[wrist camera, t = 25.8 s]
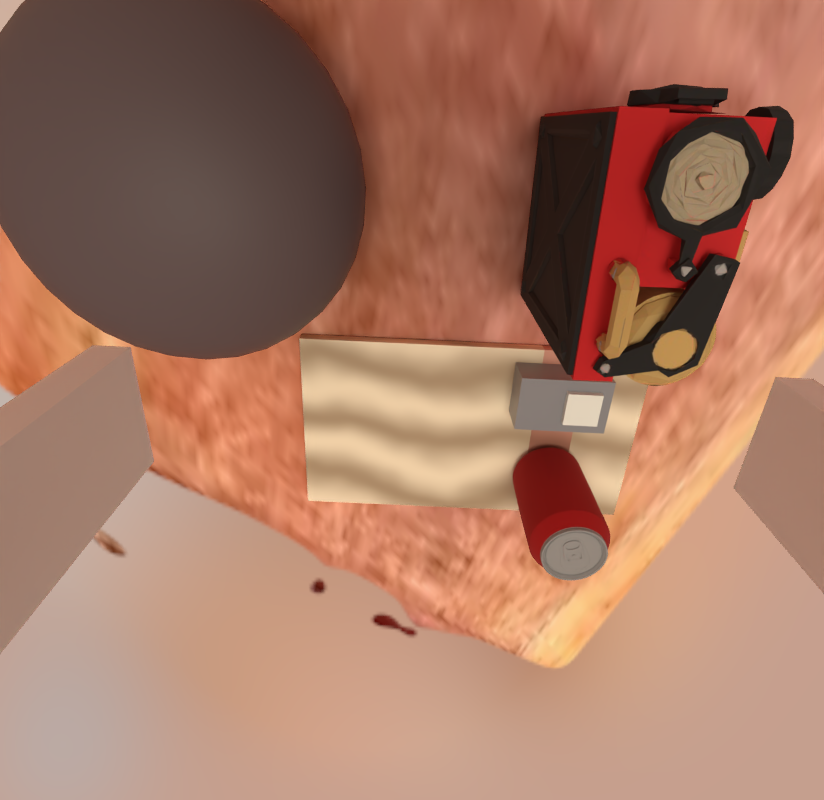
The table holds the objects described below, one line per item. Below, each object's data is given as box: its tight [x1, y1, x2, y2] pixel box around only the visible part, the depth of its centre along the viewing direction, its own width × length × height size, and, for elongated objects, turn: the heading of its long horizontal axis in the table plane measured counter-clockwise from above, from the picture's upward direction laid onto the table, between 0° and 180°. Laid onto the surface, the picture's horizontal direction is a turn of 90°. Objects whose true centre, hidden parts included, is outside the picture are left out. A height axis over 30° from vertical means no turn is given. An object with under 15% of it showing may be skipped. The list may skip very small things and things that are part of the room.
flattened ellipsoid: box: [0, 0, 366, 359], centre depth 37 cm, size 25×25×15 cm
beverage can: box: [513, 447, 610, 580], centre depth 49 cm, size 7×7×12 cm
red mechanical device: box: [521, 84, 794, 386], centre depth 35 cm, size 16×10×20 cm, turn 179°
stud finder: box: [509, 362, 616, 434], centre depth 48 cm, size 5×8×4 cm, turn 87°
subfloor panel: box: [299, 334, 648, 515], centre depth 53 cm, size 18×32×1 cm, turn 87°
